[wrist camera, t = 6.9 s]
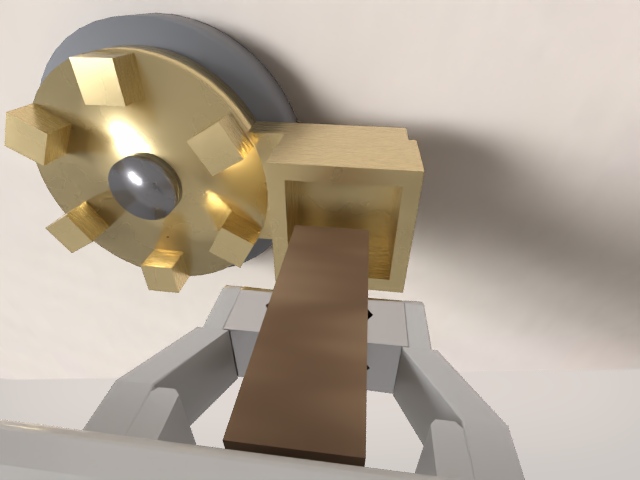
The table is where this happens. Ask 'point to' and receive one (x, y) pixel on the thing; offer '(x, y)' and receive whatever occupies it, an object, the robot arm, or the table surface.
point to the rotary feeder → (205, 169)
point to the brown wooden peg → (310, 355)
